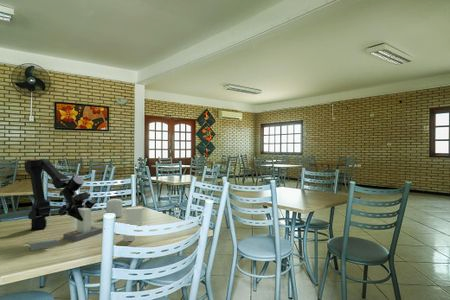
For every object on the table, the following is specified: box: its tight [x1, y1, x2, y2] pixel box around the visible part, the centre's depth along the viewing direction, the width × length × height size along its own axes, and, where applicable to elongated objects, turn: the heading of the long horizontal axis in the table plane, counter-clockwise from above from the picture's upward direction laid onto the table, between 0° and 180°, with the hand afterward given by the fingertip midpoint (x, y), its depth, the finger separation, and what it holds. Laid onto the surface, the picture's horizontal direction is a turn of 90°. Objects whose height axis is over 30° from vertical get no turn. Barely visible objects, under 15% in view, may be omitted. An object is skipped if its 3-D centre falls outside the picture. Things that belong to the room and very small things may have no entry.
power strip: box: [62, 225, 104, 242], centre depth 141 cm, size 16×9×4 cm, turn 158°
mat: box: [29, 238, 61, 252], centre depth 128 cm, size 11×11×1 cm
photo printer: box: [105, 198, 123, 218], centre depth 184 cm, size 10×4×12 cm, turn 123°
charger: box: [76, 208, 92, 233], centre depth 142 cm, size 4×5×12 cm
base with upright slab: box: [125, 206, 144, 227], centre depth 158 cm, size 9×9×12 cm
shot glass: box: [122, 234, 136, 242], centre depth 138 cm, size 7×7×7 cm
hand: (86, 219), depth 141 cm, fingers closed on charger, 4 cm apart
